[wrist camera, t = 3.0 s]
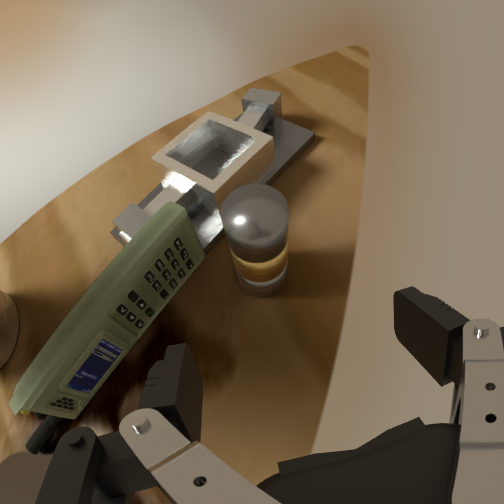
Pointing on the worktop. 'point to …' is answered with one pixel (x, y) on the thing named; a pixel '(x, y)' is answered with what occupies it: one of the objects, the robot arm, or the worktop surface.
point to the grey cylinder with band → (257, 237)
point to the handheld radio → (108, 321)
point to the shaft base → (218, 165)
